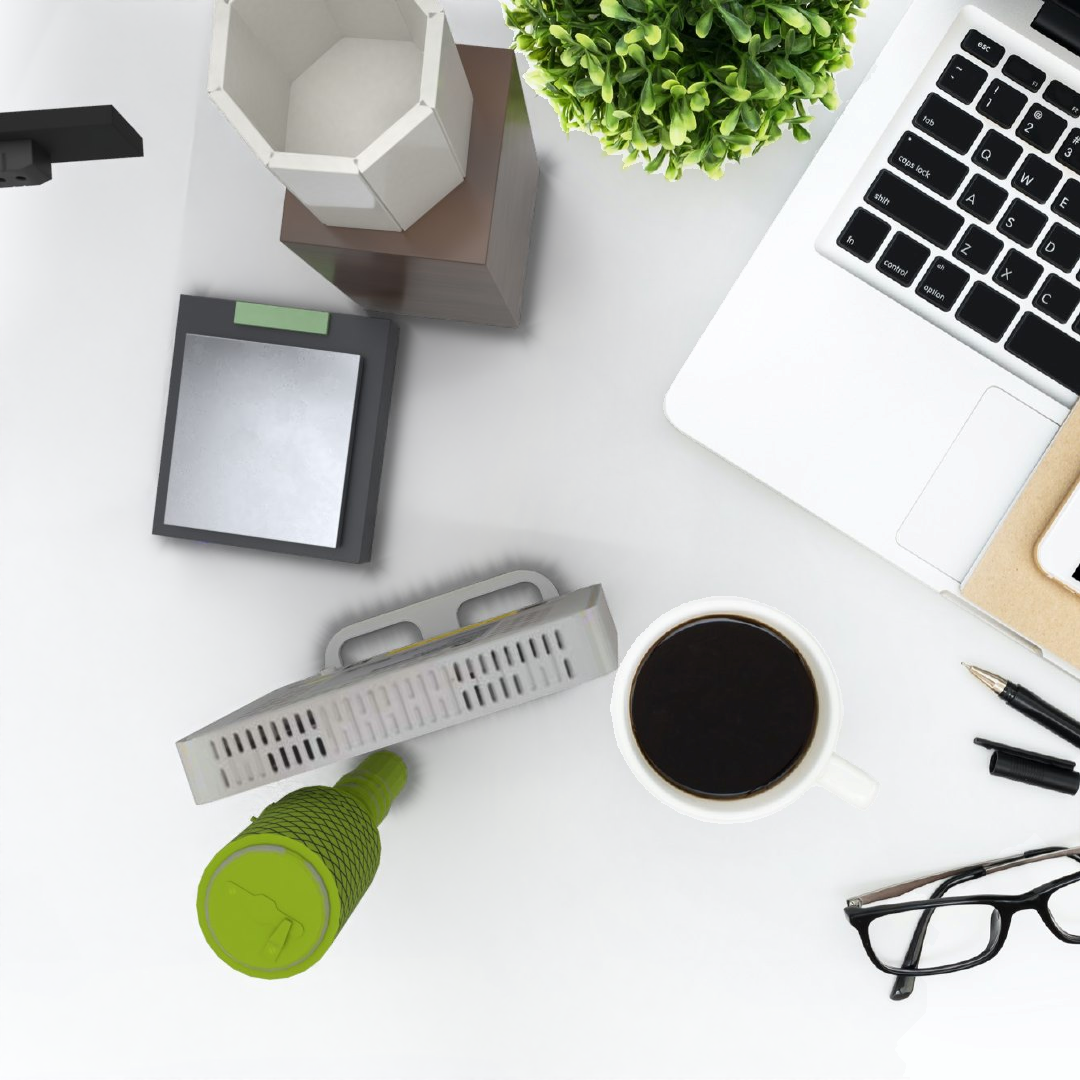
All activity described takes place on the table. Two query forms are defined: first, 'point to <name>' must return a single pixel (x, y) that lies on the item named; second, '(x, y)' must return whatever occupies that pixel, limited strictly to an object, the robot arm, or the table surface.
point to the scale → (379, 354)
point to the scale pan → (263, 440)
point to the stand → (446, 221)
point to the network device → (407, 685)
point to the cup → (346, 102)
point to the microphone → (298, 872)
